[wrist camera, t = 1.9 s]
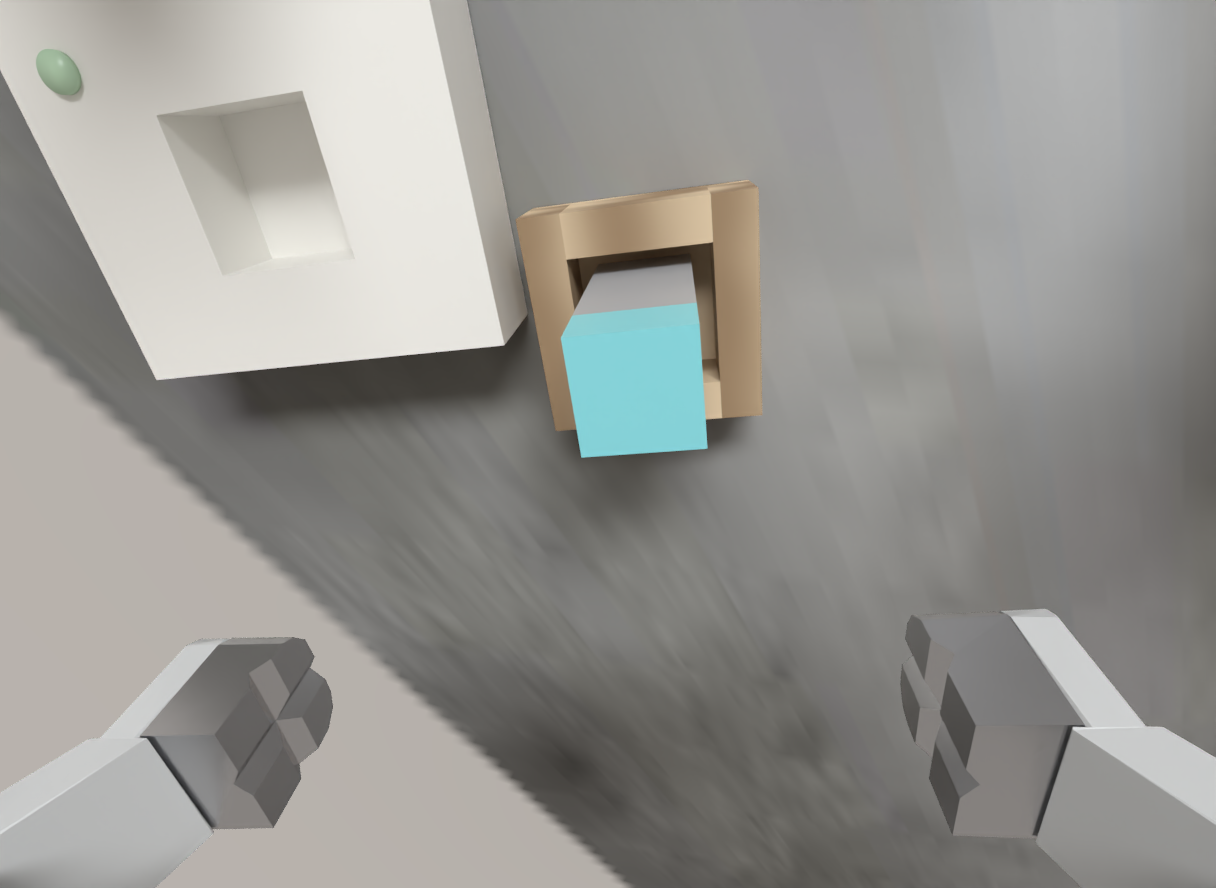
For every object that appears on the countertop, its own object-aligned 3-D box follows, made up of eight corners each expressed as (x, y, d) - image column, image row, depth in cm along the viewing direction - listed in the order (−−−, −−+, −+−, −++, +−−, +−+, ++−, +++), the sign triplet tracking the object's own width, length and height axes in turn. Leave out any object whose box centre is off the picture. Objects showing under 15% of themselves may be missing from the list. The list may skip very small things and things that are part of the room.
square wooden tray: (748, 179, 22) (758, 188, 19) (753, 384, 26) (762, 415, 23) (533, 207, 23) (515, 219, 20) (567, 400, 27) (555, 431, 24)
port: (457, -51, 20) (407, -90, 16) (527, 313, 25) (503, 347, 21) (82, 24, 22) (-40, 4, 18) (223, 346, 27) (152, 381, 23)
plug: (689, 253, 23) (699, 324, 15) (696, 342, 24) (707, 448, 17) (598, 264, 23) (560, 337, 15) (610, 350, 25) (581, 457, 17)
